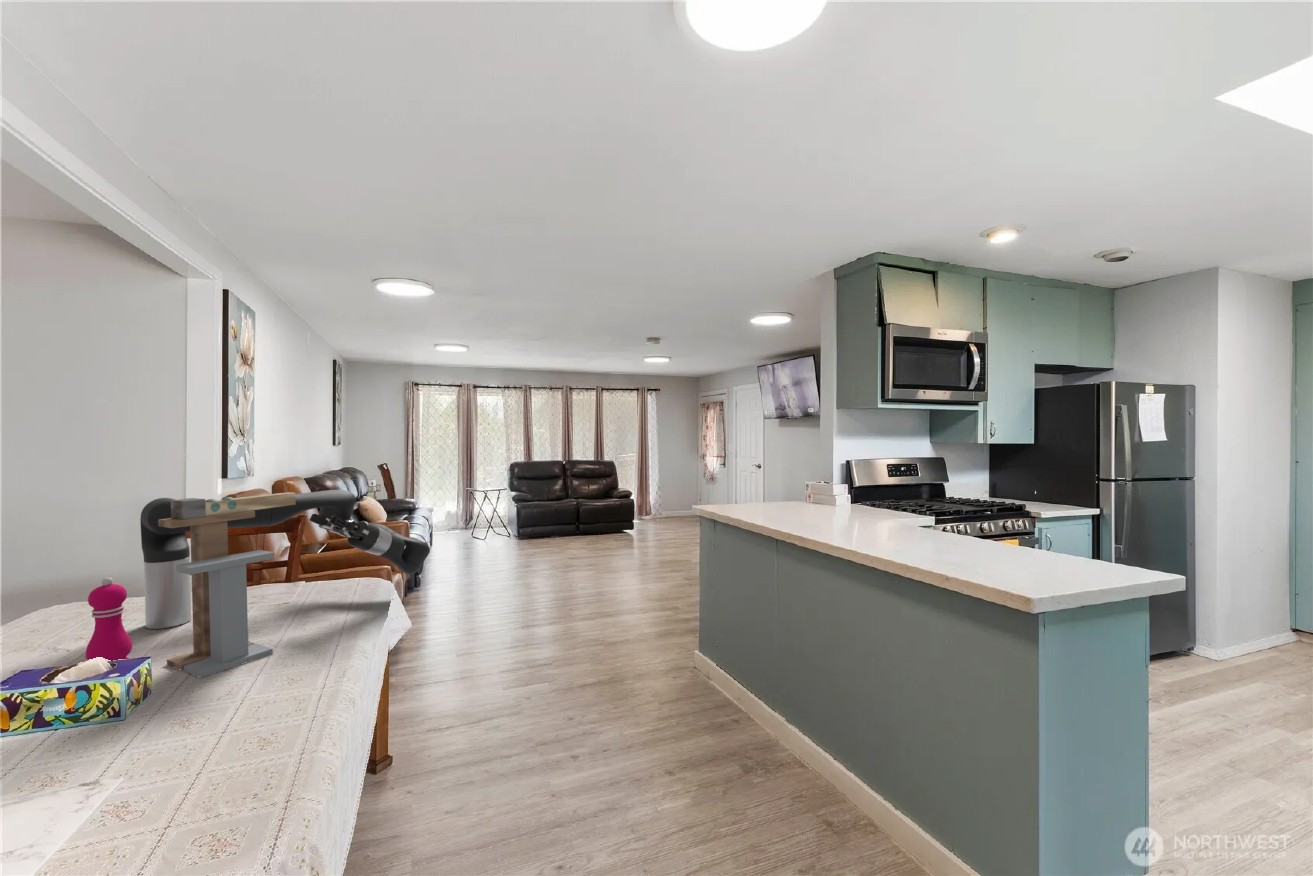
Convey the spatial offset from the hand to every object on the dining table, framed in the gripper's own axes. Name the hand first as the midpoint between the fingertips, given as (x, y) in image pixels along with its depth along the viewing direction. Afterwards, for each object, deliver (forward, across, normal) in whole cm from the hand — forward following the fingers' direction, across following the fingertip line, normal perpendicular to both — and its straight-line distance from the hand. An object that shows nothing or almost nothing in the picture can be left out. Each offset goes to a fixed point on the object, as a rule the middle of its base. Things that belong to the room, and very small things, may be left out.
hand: (321, 517), depth 150 cm
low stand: (+8, +8, +37) cm, 38 cm away
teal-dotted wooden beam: (+18, -1, +6) cm, 19 cm away
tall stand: (+8, 0, +37) cm, 38 cm away
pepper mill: (+20, -11, +44) cm, 50 cm away
